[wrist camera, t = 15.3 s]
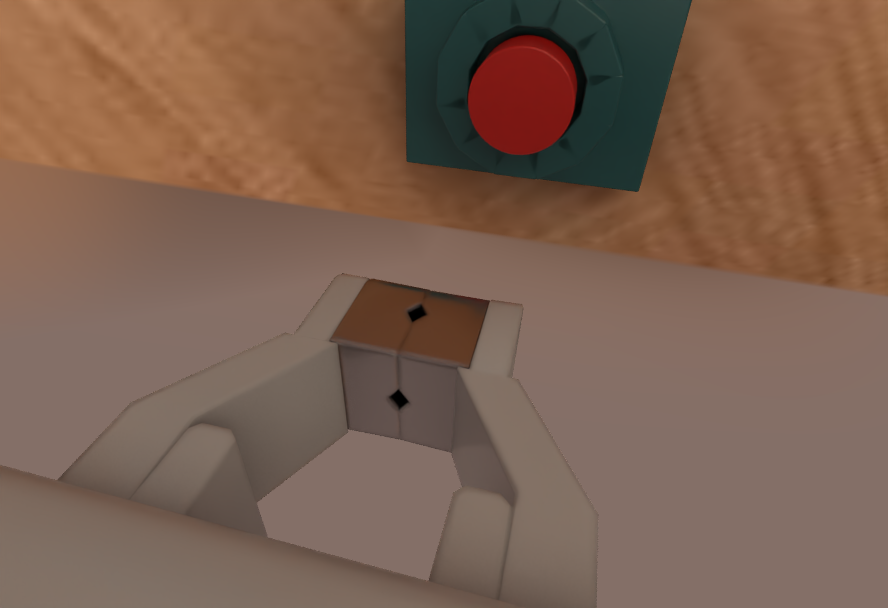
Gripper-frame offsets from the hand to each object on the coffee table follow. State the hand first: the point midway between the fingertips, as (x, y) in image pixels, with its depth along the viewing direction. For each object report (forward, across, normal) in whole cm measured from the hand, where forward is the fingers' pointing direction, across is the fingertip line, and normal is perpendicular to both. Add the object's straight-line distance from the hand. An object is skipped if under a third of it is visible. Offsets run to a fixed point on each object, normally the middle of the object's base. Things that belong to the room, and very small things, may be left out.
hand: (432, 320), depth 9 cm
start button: (+14, 0, 0) cm, 14 cm away
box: (+17, 0, 0) cm, 17 cm away
